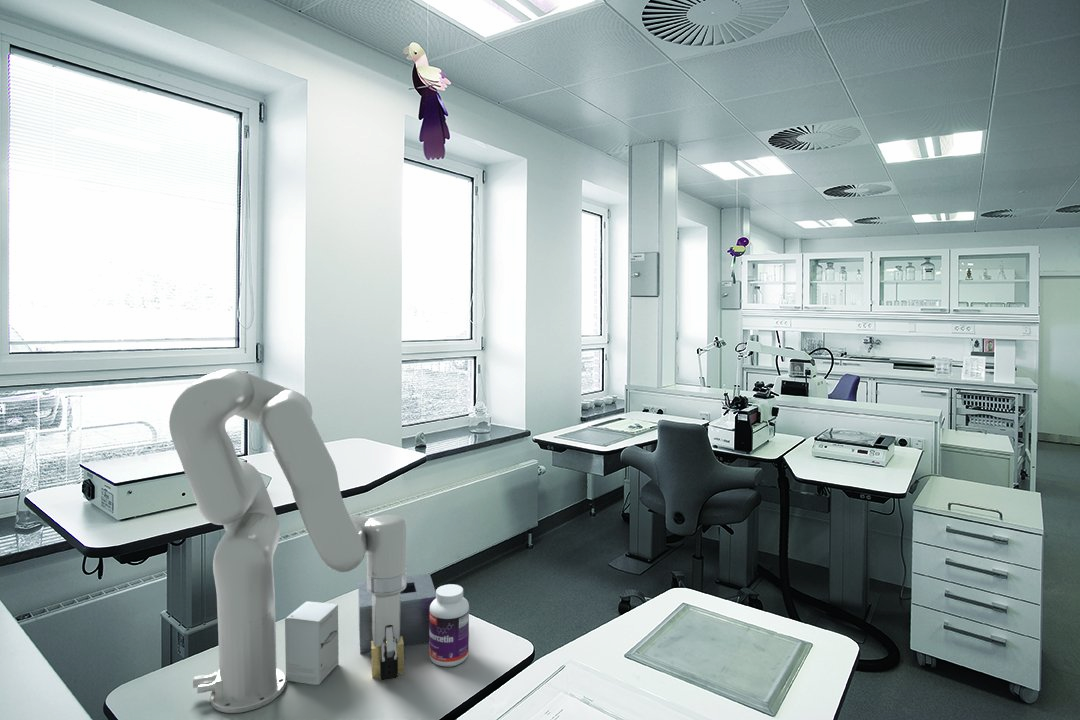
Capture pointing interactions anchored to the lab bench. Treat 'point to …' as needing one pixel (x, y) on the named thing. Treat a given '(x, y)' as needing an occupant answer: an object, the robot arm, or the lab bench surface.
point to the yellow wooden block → (377, 655)
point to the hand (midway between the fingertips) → (387, 665)
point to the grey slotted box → (412, 612)
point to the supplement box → (311, 642)
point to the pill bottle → (449, 626)
